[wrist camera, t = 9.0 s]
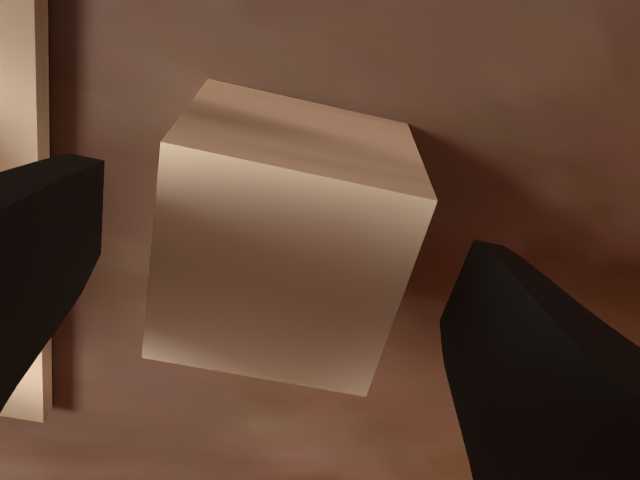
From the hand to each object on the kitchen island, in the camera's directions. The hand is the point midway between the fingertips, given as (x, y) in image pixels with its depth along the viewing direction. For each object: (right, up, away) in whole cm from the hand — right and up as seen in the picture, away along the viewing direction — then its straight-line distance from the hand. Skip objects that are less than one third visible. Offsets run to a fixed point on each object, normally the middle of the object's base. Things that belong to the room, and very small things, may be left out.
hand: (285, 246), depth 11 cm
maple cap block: (0, +1, +2) cm, 3 cm away
